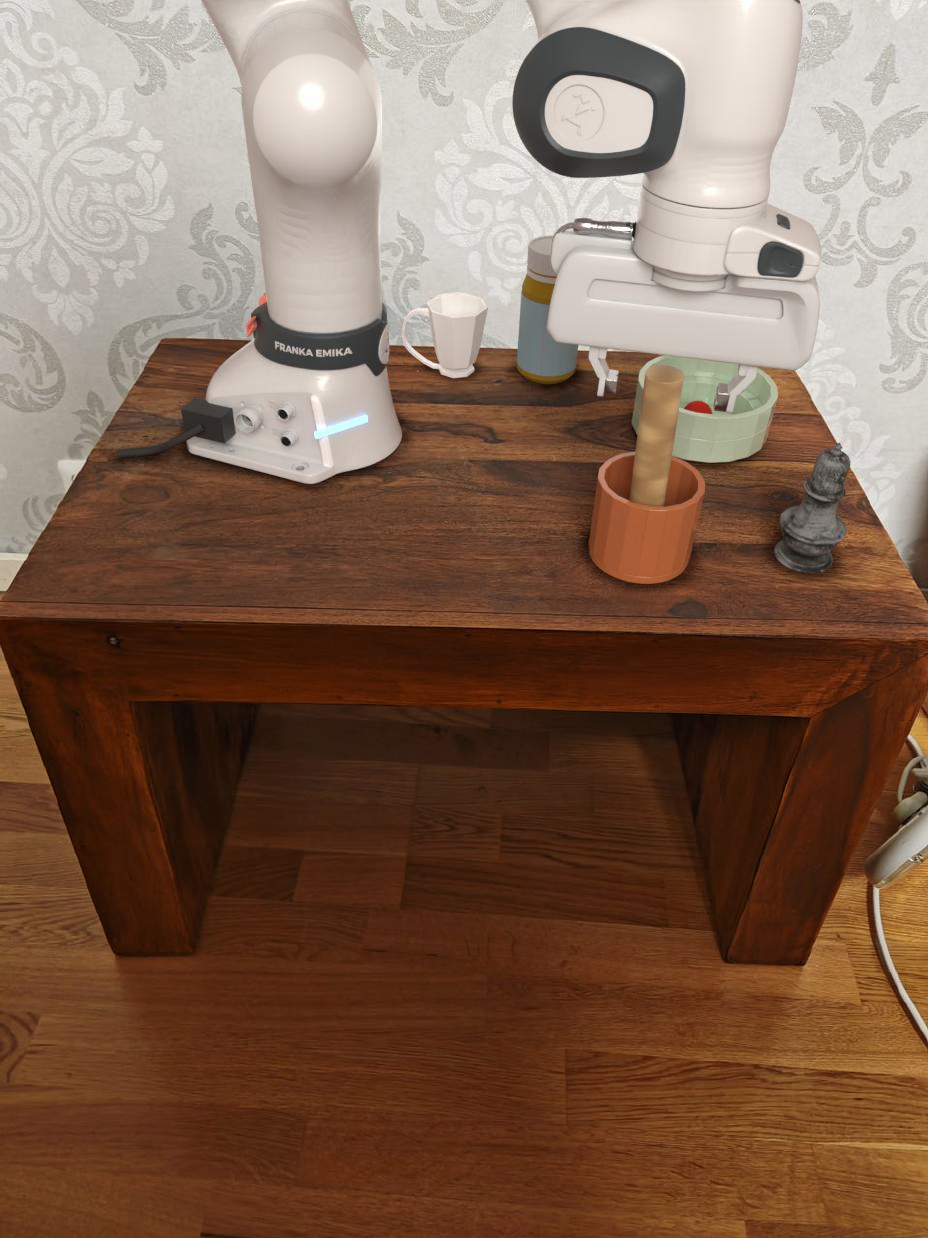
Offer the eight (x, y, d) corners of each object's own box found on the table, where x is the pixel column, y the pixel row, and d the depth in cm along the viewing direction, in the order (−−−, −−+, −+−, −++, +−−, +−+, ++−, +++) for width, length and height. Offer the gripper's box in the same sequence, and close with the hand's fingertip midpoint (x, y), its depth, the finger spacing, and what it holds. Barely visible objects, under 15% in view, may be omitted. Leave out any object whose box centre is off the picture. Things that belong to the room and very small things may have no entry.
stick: (622, 565, 86) (645, 381, 75) (622, 545, 89) (645, 363, 77) (656, 567, 86) (685, 383, 74) (655, 547, 88) (683, 365, 76)
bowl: (626, 459, 101) (634, 408, 97) (635, 393, 112) (642, 345, 108) (766, 477, 99) (781, 425, 95) (762, 408, 110) (774, 359, 106)
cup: (481, 386, 112) (483, 319, 107) (396, 378, 113) (395, 312, 108) (489, 358, 117) (492, 294, 112) (408, 351, 118) (407, 286, 113)
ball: (687, 412, 106) (675, 431, 105) (690, 390, 103) (678, 409, 102) (714, 421, 105) (703, 441, 104) (719, 399, 102) (707, 419, 101)
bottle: (572, 388, 112) (586, 260, 102) (513, 382, 113) (521, 254, 103) (577, 361, 117) (590, 236, 108) (519, 355, 118) (528, 231, 108)
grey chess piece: (791, 580, 87) (828, 465, 79) (758, 541, 91) (790, 429, 83) (848, 569, 88) (890, 456, 80) (813, 532, 92) (850, 421, 84)
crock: (583, 576, 86) (593, 502, 81) (593, 517, 93) (603, 445, 88) (687, 591, 85) (704, 517, 80) (689, 530, 92) (705, 457, 87)
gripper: (548, 229, 69) (532, 403, 78) (844, 260, 66) (792, 436, 75) (559, 200, 73) (542, 368, 83) (835, 228, 71) (787, 398, 80)
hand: (663, 401), depth 79 cm, fingers open, 8 cm apart
